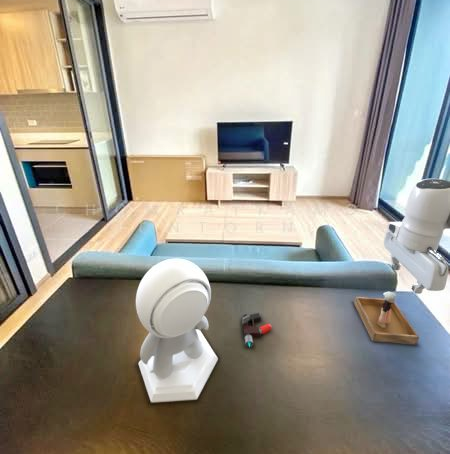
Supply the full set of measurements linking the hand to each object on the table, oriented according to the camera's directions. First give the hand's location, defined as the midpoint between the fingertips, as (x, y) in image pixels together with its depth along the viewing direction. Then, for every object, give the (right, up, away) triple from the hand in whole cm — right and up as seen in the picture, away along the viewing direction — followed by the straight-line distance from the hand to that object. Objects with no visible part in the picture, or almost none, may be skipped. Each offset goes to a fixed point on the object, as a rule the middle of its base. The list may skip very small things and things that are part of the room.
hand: (404, 279), depth 72 cm
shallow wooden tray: (+2, -20, +14) cm, 24 cm away
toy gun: (-41, -21, +10) cm, 48 cm away
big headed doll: (-65, -25, +1) cm, 70 cm away
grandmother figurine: (+2, -20, +14) cm, 24 cm away
